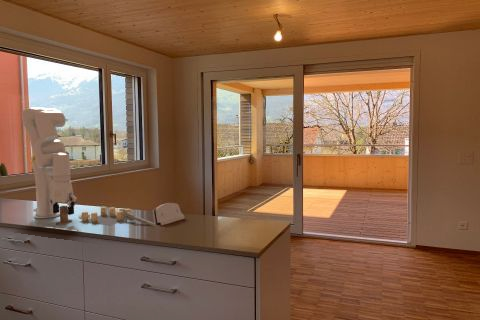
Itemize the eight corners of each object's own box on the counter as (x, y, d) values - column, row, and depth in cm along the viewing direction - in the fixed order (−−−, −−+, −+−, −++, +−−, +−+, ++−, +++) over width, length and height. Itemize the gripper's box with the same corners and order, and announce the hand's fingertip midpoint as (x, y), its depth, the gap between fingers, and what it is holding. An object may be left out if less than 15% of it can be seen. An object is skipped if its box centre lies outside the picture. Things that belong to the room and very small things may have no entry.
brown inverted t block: (56, 225, 174) (55, 207, 173) (67, 222, 181) (66, 204, 180) (61, 226, 173) (60, 207, 172) (72, 222, 180) (71, 205, 179)
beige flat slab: (161, 225, 173) (155, 205, 174) (155, 227, 176) (149, 207, 177) (185, 218, 187) (180, 199, 188) (179, 220, 189) (173, 201, 191)
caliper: (121, 221, 180) (121, 209, 179) (122, 221, 181) (122, 209, 180) (155, 226, 172) (155, 214, 171) (156, 226, 173) (156, 213, 172)
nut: (76, 219, 187) (76, 215, 187) (85, 217, 193) (84, 213, 192) (83, 220, 185) (83, 216, 185) (92, 217, 191) (92, 214, 191)
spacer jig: (78, 223, 179) (77, 213, 178) (104, 215, 195) (103, 206, 195) (110, 226, 171) (109, 216, 171) (134, 218, 188) (134, 208, 188)
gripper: (42, 179, 175) (44, 214, 176) (69, 180, 168) (70, 216, 170) (55, 177, 182) (57, 210, 183) (81, 178, 175) (83, 213, 177)
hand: (63, 213), depth 176 cm, fingers open, 9 cm apart
